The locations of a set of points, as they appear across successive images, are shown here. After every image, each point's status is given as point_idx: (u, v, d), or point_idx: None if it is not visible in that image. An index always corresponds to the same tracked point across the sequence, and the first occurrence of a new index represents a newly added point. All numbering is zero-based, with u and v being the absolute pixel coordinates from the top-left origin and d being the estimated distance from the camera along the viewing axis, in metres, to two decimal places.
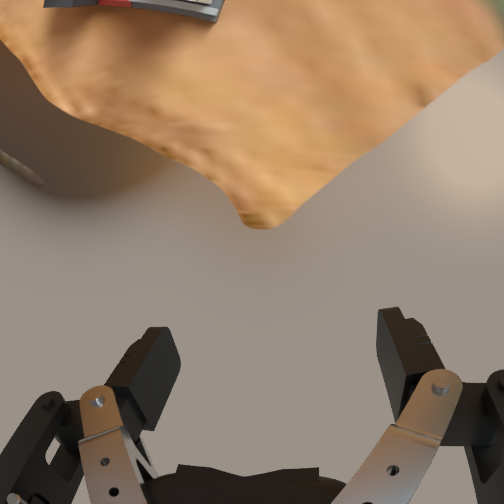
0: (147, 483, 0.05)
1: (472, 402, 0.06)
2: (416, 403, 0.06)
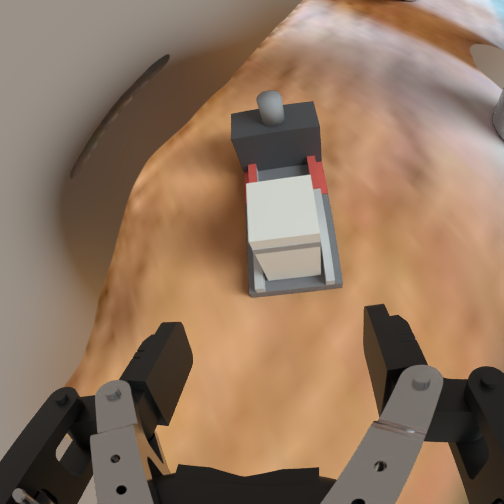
0: (156, 482, 0.05)
1: (453, 398, 0.06)
2: (398, 399, 0.06)
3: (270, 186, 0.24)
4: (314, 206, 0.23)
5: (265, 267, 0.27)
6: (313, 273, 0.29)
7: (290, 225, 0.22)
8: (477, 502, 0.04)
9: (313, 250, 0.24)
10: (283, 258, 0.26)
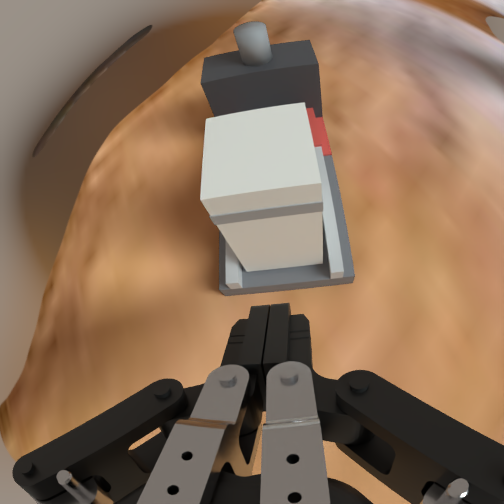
0: (218, 492, 0.05)
1: (324, 397, 0.08)
2: (274, 399, 0.07)
3: (241, 119, 0.15)
4: (311, 143, 0.13)
5: (238, 248, 0.18)
6: (312, 260, 0.20)
7: (270, 171, 0.13)
8: (406, 490, 0.05)
9: (311, 218, 0.15)
10: (263, 234, 0.16)
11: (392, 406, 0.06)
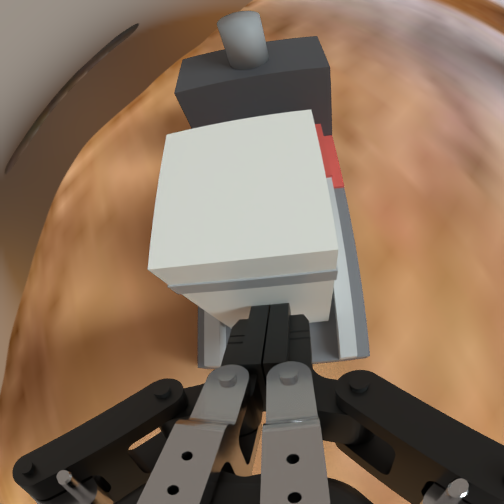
0: (218, 492, 0.05)
1: (324, 397, 0.08)
2: (274, 399, 0.07)
3: (216, 136, 0.10)
4: (322, 177, 0.08)
5: (216, 312, 0.13)
6: (315, 319, 0.15)
7: (256, 226, 0.08)
8: (406, 490, 0.05)
9: (318, 286, 0.10)
10: (248, 301, 0.12)
11: (392, 406, 0.06)
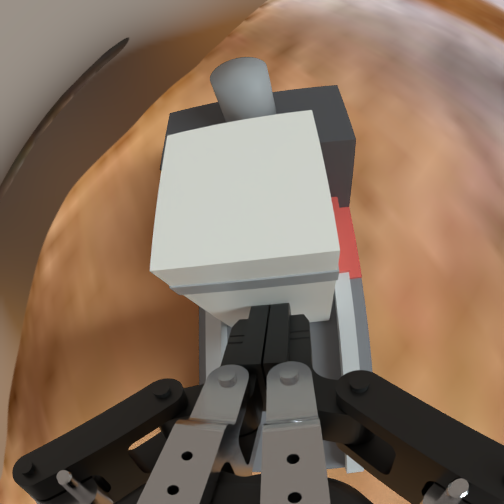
0: (218, 492, 0.05)
1: (324, 397, 0.08)
2: (275, 399, 0.07)
3: (217, 136, 0.10)
4: (323, 178, 0.08)
5: (218, 313, 0.13)
6: (316, 318, 0.15)
7: (258, 227, 0.08)
8: (406, 490, 0.05)
9: (320, 286, 0.10)
10: (250, 302, 0.12)
11: (392, 406, 0.06)
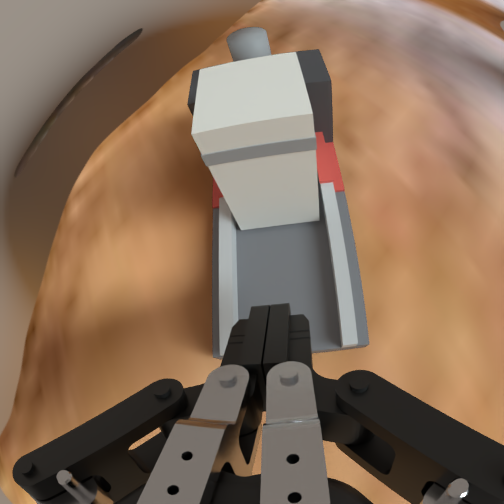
0: (218, 492, 0.05)
1: (324, 397, 0.08)
2: (275, 399, 0.07)
3: (234, 67, 0.14)
4: (302, 82, 0.13)
5: (231, 198, 0.17)
6: (308, 215, 0.19)
7: (262, 106, 0.12)
8: (406, 490, 0.05)
9: (305, 159, 0.14)
10: (256, 179, 0.16)
11: (392, 406, 0.06)
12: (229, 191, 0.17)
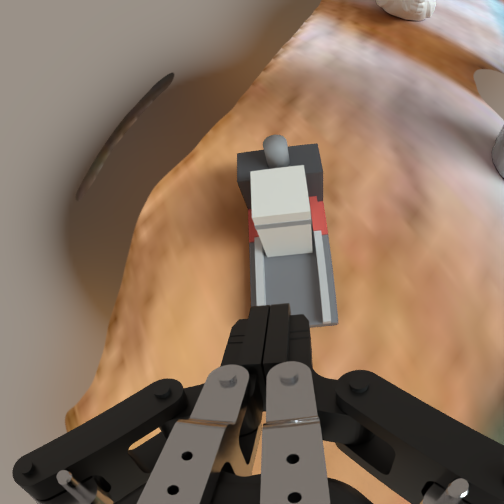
0: (218, 492, 0.05)
1: (324, 397, 0.08)
2: (274, 399, 0.07)
3: (270, 174, 0.29)
4: (306, 190, 0.28)
5: (265, 242, 0.32)
6: (306, 250, 0.34)
7: (286, 205, 0.27)
8: (406, 490, 0.05)
9: (305, 227, 0.29)
10: (279, 235, 0.31)
11: (392, 406, 0.06)
12: (264, 239, 0.32)
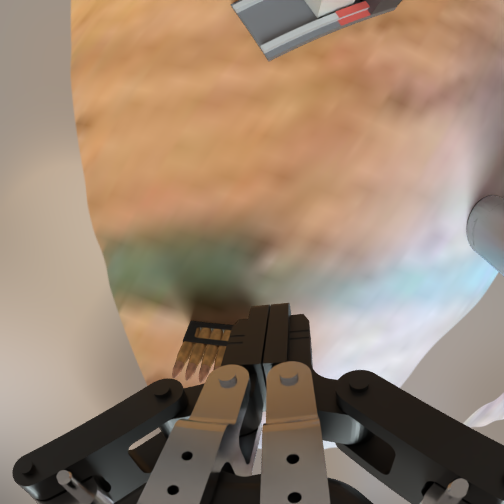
0: (218, 492, 0.05)
1: (324, 397, 0.08)
2: (274, 399, 0.07)
3: None
4: None
5: None
6: (314, 12, 0.28)
7: None
8: (406, 490, 0.05)
9: None
10: None
11: (392, 406, 0.06)
12: None
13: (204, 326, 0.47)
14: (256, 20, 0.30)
